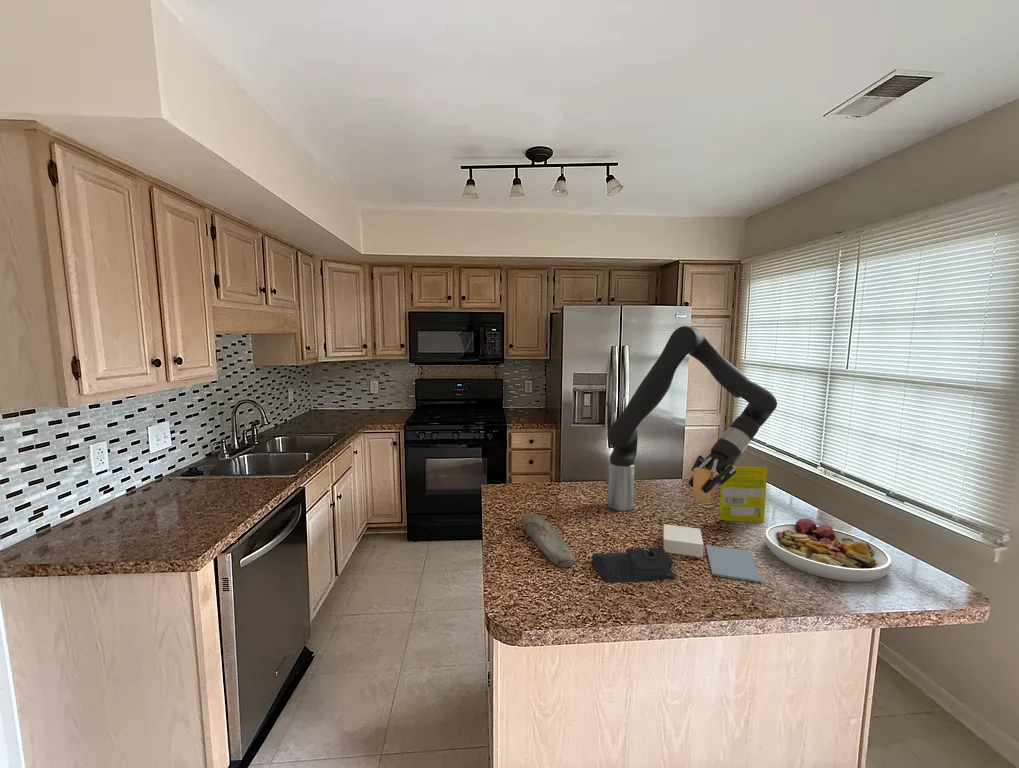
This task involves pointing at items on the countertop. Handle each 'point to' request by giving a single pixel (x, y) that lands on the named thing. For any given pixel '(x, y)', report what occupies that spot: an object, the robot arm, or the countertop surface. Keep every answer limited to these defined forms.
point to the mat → (732, 563)
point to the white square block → (683, 540)
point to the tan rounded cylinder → (701, 484)
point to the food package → (744, 495)
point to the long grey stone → (548, 540)
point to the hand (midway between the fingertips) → (697, 488)
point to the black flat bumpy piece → (634, 565)
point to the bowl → (827, 552)
